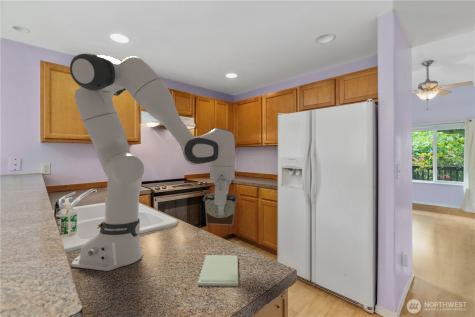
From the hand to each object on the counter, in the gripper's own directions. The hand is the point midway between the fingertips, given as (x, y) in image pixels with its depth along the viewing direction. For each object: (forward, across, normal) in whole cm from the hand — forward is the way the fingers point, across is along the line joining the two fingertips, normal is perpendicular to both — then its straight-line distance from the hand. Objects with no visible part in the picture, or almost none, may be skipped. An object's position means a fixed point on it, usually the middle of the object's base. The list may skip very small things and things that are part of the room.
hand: (221, 212), depth 81 cm
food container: (+4, +1, 0) cm, 4 cm away
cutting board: (+18, -5, 0) cm, 19 cm away
